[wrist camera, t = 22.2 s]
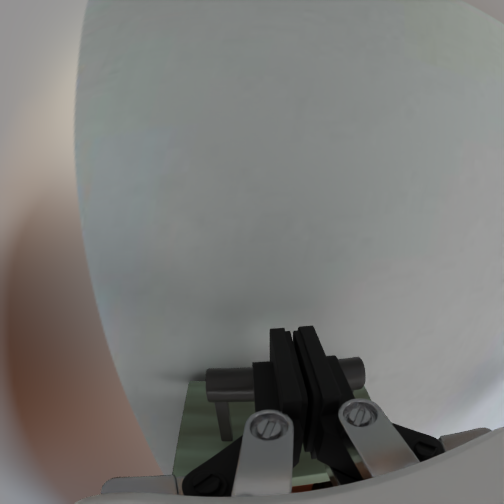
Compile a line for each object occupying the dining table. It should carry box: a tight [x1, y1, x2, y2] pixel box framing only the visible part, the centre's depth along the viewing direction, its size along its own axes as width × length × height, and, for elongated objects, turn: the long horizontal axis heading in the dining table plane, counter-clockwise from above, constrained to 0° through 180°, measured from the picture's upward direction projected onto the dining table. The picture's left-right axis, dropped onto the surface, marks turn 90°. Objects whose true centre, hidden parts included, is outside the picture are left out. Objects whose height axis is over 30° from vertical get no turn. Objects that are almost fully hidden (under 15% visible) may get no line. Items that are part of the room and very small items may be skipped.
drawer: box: [172, 357, 371, 491], centre depth 16 cm, size 20×11×8 cm, turn 2°
